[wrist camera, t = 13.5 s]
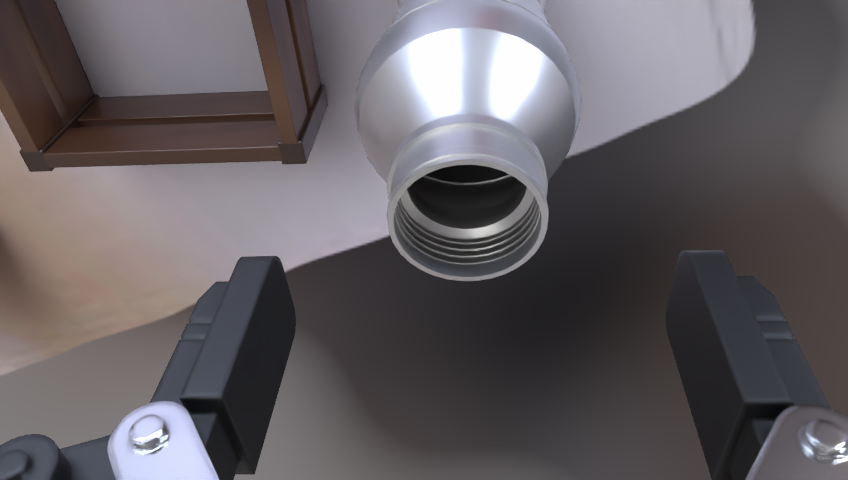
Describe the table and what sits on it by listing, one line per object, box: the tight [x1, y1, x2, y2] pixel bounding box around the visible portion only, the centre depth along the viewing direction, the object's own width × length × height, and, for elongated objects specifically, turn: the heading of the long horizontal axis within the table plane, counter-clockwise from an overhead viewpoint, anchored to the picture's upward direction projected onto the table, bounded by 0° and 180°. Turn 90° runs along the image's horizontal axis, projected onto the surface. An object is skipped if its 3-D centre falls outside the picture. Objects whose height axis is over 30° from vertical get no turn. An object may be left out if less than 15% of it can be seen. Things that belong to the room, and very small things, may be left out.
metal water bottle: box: [355, 0, 581, 281], centre depth 23 cm, size 6×7×20 cm
